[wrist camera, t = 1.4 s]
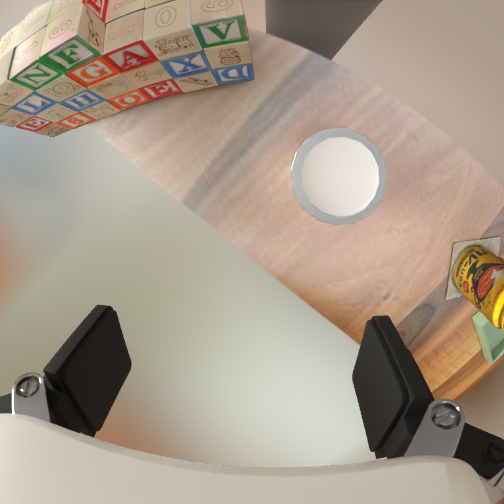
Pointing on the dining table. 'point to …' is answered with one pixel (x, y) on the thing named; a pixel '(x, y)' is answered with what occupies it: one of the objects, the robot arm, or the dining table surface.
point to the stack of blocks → (116, 58)
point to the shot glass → (338, 176)
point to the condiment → (479, 277)
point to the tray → (489, 338)
